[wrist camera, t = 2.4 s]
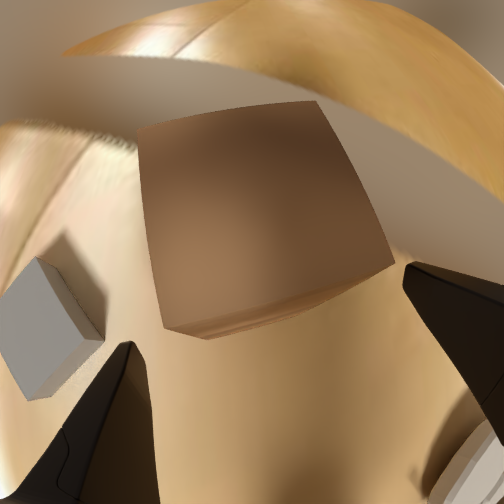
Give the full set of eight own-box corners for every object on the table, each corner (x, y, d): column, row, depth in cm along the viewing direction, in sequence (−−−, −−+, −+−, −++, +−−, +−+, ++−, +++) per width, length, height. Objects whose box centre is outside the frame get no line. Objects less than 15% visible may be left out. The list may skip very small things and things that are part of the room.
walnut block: (297, 315, 18) (395, 262, 7) (207, 340, 17) (164, 328, 6) (270, 232, 20) (315, 100, 9) (186, 252, 19) (136, 129, 8)
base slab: (50, 397, 15) (27, 401, 12) (8, 324, 16) (-15, 318, 13) (104, 341, 17) (84, 339, 14) (56, 268, 18) (35, 256, 15)
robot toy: (510, 448, 15) (478, 392, 17) (535, 453, 10) (514, 394, 12) (448, 532, 12) (394, 504, 13) (470, 544, 7) (424, 525, 9)
